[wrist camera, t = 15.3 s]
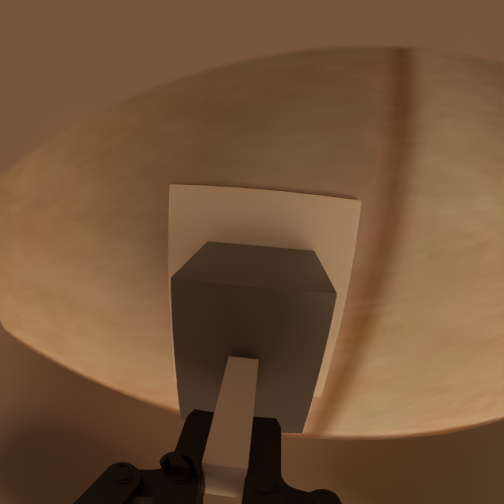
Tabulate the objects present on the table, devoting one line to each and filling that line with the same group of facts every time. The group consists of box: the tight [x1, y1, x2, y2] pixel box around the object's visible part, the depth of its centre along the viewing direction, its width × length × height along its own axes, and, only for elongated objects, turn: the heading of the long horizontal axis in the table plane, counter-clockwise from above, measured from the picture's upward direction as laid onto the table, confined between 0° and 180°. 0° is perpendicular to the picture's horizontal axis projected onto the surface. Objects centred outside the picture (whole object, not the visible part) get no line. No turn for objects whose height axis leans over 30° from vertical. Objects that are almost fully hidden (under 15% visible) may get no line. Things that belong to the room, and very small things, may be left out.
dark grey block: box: [171, 241, 337, 433], centre depth 18 cm, size 10×8×9 cm
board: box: [168, 184, 362, 397], centre depth 19 cm, size 18×14×7 cm
